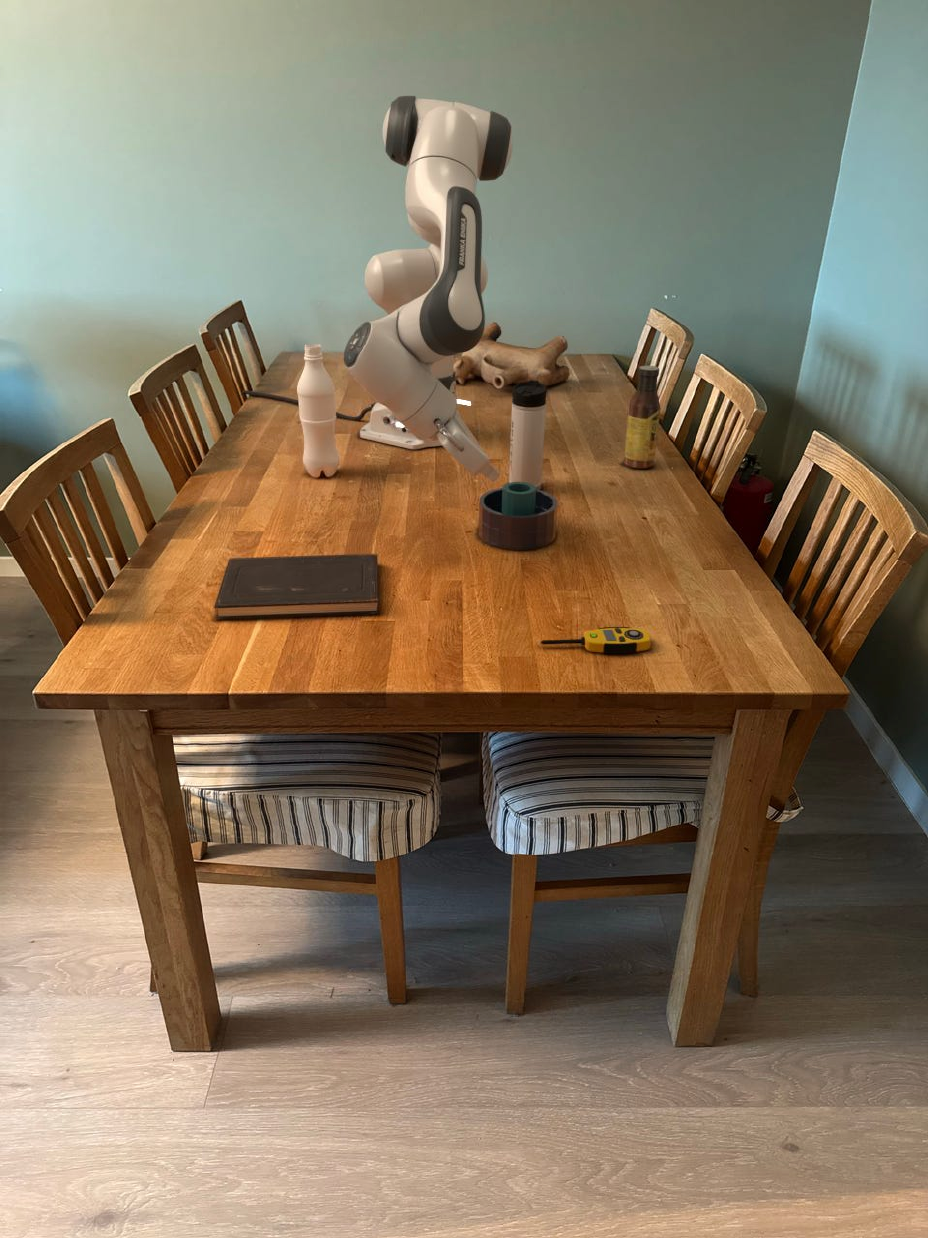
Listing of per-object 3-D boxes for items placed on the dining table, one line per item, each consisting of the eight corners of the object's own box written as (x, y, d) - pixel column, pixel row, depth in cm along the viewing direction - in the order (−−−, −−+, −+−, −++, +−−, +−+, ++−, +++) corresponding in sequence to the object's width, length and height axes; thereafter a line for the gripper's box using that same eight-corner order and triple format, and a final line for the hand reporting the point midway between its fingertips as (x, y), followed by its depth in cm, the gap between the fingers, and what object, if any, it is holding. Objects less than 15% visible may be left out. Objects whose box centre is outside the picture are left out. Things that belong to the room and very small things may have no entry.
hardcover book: (378, 614, 127) (377, 600, 126) (216, 620, 125) (214, 606, 124) (377, 564, 140) (377, 551, 139) (231, 569, 139) (229, 556, 137)
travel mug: (545, 483, 172) (551, 381, 162) (536, 495, 166) (542, 390, 156) (514, 479, 173) (518, 378, 163) (504, 491, 168) (508, 387, 158)
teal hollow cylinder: (496, 535, 150) (498, 491, 146) (507, 522, 154) (508, 479, 150) (527, 540, 148) (530, 495, 144) (537, 527, 152) (539, 484, 148)
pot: (467, 542, 148) (468, 509, 145) (493, 513, 159) (494, 482, 156) (543, 555, 144) (545, 522, 141) (563, 525, 155) (566, 493, 152)
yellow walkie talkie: (654, 641, 117) (543, 644, 116) (653, 653, 118) (542, 656, 117) (645, 623, 121) (538, 625, 120) (644, 635, 122) (537, 637, 121)
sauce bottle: (653, 471, 178) (665, 373, 168) (622, 468, 179) (632, 371, 169) (653, 460, 184) (665, 364, 174) (623, 458, 185) (633, 362, 175)
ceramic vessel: (483, 312, 243) (427, 339, 227) (579, 337, 229) (527, 368, 213) (482, 357, 251) (428, 386, 235) (575, 384, 237) (524, 417, 221)
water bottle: (346, 470, 177) (339, 343, 164) (327, 482, 171) (318, 351, 159) (316, 464, 179) (307, 339, 167) (296, 476, 174) (285, 347, 161)
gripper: (457, 416, 128) (519, 475, 135) (432, 379, 145) (488, 433, 152) (428, 447, 129) (490, 504, 136) (406, 407, 146) (462, 459, 153)
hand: (489, 466), depth 144 cm, fingers open, 8 cm apart
